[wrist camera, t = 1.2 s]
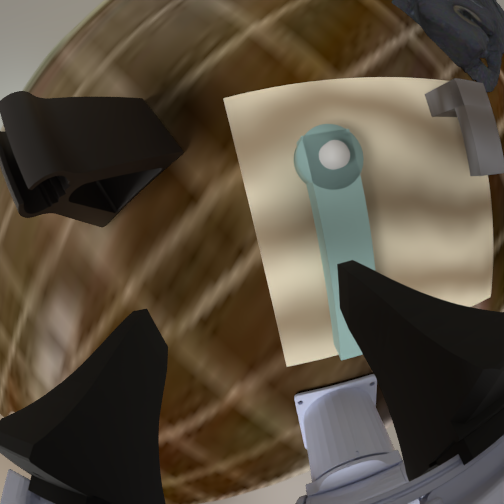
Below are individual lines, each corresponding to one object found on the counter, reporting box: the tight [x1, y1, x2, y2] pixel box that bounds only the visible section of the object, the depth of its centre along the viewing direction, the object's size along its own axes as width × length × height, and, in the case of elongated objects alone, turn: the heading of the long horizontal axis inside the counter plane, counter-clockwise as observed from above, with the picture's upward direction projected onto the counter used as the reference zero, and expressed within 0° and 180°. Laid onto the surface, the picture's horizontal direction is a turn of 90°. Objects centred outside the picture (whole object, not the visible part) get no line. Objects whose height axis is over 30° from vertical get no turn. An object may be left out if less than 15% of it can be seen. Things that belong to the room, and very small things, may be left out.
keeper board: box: [223, 77, 504, 367], centre depth 16 cm, size 21×22×6 cm
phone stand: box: [0, 91, 184, 227], centre depth 13 cm, size 9×6×12 cm, turn 126°
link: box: [294, 124, 375, 360], centre depth 16 cm, size 16×4×3 cm, turn 13°
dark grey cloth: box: [392, 0, 504, 92], centre depth 11 cm, size 15×22×5 cm
